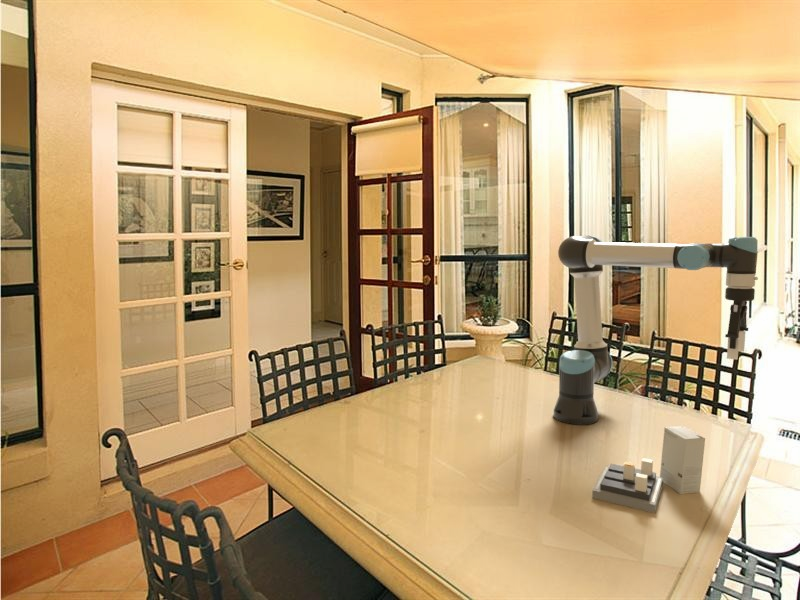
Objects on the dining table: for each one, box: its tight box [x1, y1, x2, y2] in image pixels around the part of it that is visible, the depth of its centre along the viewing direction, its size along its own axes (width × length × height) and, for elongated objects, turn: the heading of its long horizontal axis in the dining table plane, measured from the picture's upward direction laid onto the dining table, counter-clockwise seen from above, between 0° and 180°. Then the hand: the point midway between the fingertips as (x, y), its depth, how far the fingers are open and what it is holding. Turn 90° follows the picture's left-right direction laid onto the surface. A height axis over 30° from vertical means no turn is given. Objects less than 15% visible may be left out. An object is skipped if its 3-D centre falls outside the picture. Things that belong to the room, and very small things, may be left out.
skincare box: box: [659, 425, 706, 495], centre depth 133 cm, size 8×6×15 cm
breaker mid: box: [622, 461, 636, 480], centre depth 131 cm, size 2×2×4 cm
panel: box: [592, 463, 664, 514], centre depth 131 cm, size 14×16×4 cm
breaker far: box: [640, 457, 654, 476], centre depth 133 cm, size 2×2×4 cm
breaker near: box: [635, 473, 648, 492], centre depth 125 cm, size 2×2×4 cm
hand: (735, 354), depth 162 cm, fingers open, 13 cm apart
